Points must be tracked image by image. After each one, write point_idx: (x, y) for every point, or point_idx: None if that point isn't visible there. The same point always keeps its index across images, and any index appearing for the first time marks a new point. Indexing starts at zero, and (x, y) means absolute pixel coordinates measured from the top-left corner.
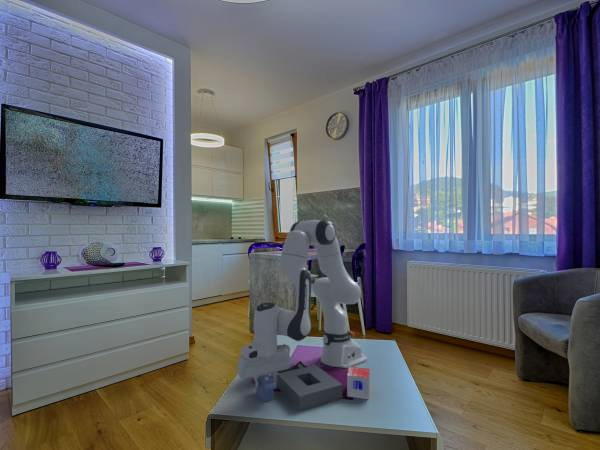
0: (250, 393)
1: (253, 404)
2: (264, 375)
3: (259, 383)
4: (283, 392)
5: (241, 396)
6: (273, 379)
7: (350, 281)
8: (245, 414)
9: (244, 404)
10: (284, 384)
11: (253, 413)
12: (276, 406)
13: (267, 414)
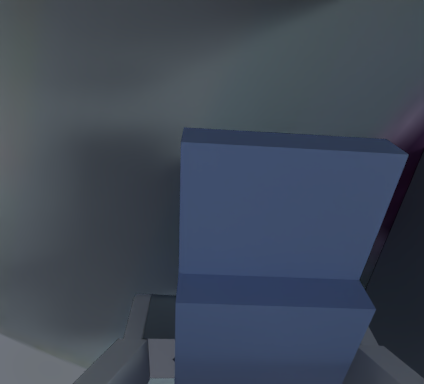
0: (138, 135)
1: (113, 283)
2: (279, 371)
3: (162, 368)
4: (378, 276)
5: (40, 143)
6: (348, 380)
7: None
8: (38, 339)
9: (48, 257)
10: (413, 353)
11: (87, 348)
12: None
13: (158, 378)
